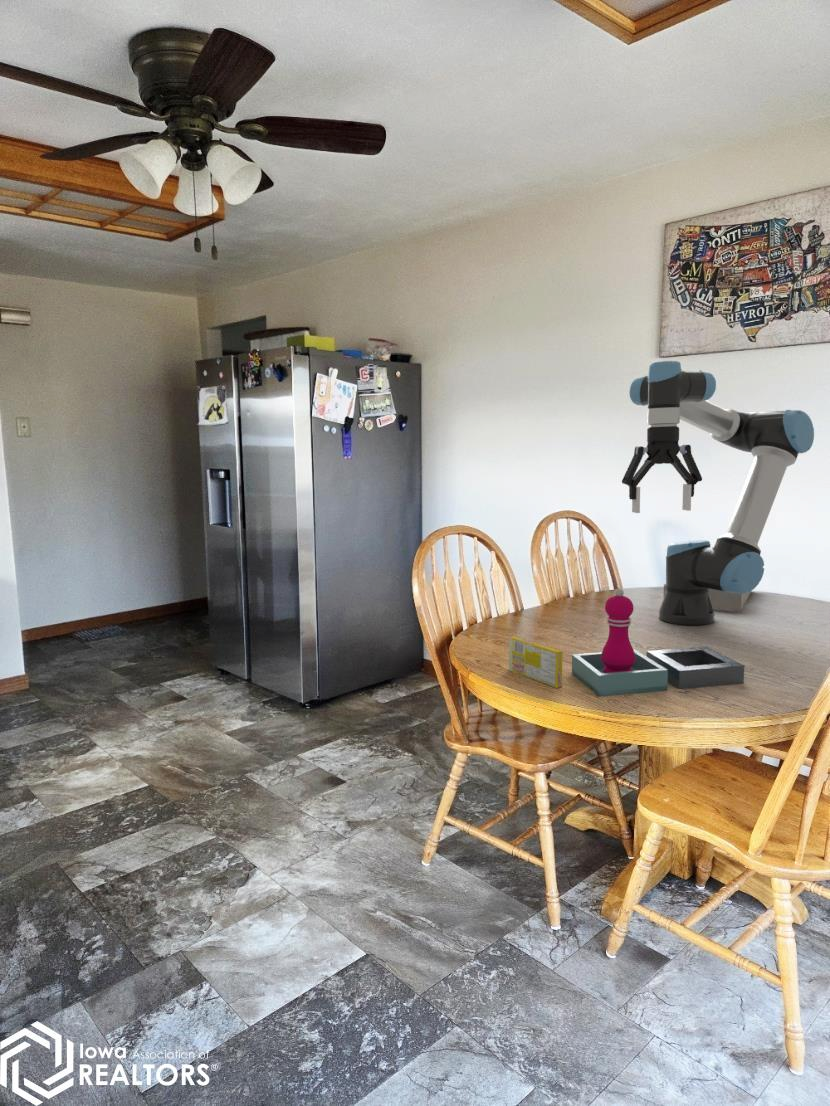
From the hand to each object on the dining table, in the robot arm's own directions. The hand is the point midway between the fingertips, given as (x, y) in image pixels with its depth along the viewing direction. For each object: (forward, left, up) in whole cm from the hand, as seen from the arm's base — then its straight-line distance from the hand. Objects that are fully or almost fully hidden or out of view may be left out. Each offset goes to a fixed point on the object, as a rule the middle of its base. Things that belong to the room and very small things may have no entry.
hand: (661, 511), depth 180 cm
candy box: (+39, +17, -35) cm, 55 cm away
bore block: (+4, +24, -35) cm, 42 cm away
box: (-41, -45, -35) cm, 70 cm away
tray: (+22, +24, -35) cm, 48 cm away
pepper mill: (+22, +24, -34) cm, 47 cm away
